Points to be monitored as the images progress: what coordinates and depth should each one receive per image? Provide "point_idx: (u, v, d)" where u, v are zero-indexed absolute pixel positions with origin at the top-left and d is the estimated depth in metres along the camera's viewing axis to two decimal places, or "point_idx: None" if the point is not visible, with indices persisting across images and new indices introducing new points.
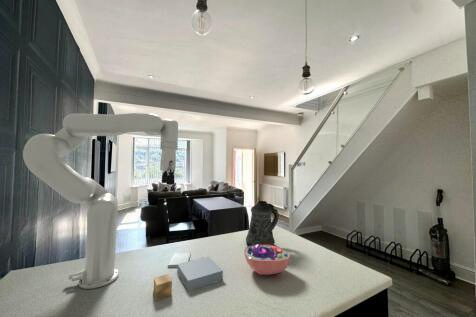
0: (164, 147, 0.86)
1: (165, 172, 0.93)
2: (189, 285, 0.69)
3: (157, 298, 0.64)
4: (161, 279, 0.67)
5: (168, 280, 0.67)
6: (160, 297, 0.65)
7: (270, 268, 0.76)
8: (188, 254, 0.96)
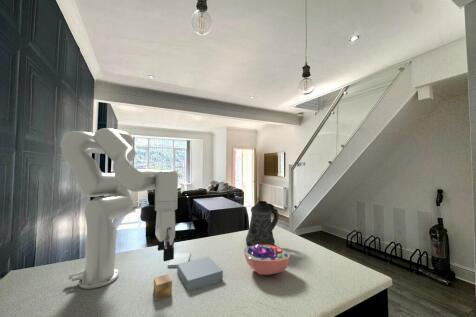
0: (160, 209, 0.65)
1: None
2: (189, 285, 0.69)
3: (157, 298, 0.64)
4: (161, 279, 0.67)
5: (168, 280, 0.67)
6: (160, 297, 0.65)
7: (270, 268, 0.76)
8: (188, 254, 0.96)
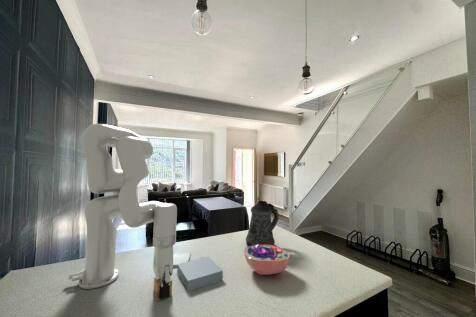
0: (158, 245, 0.64)
1: None
2: (189, 285, 0.69)
3: (157, 298, 0.64)
4: None
5: None
6: None
7: (270, 268, 0.76)
8: (188, 254, 0.96)
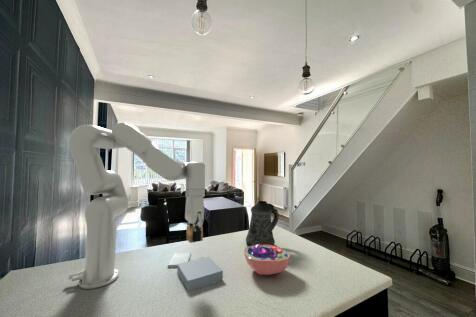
0: (191, 195, 0.74)
1: (192, 223, 0.80)
2: (189, 285, 0.69)
3: (191, 241, 0.74)
4: (193, 226, 0.77)
5: None
6: None
7: (270, 268, 0.76)
8: (188, 254, 0.96)
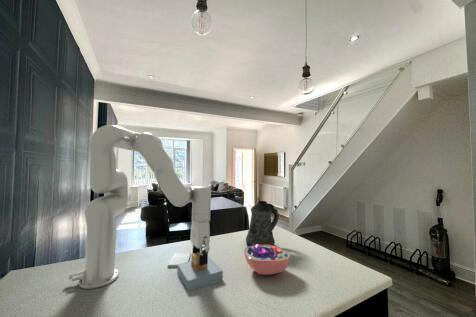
0: (197, 220, 0.76)
1: None
2: (189, 285, 0.69)
3: (196, 269, 0.76)
4: (198, 254, 0.79)
5: None
6: (198, 269, 0.76)
7: (270, 268, 0.76)
8: (188, 254, 0.96)
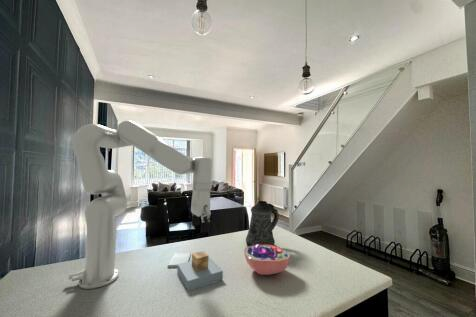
0: (198, 189, 0.77)
1: None
2: (189, 285, 0.69)
3: (197, 269, 0.76)
4: (199, 254, 0.79)
5: (205, 255, 0.78)
6: (199, 269, 0.76)
7: (270, 268, 0.76)
8: (188, 254, 0.96)
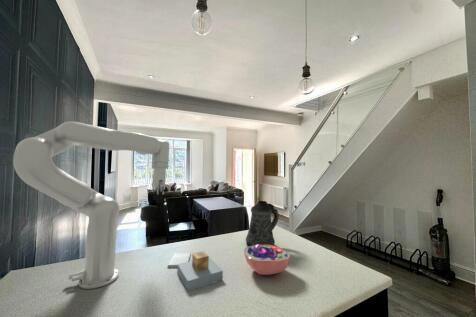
0: (154, 167, 0.91)
1: (157, 189, 0.98)
2: (189, 285, 0.69)
3: (197, 270, 0.76)
4: (199, 254, 0.79)
5: (205, 255, 0.78)
6: (199, 269, 0.76)
7: (270, 268, 0.76)
8: (188, 254, 0.96)
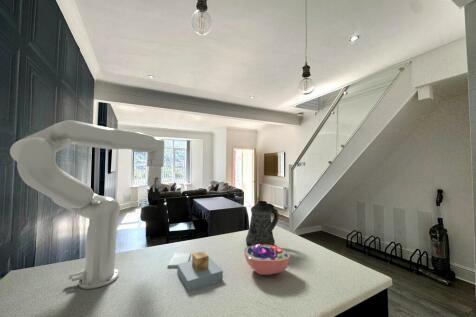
0: (150, 165, 0.93)
1: (152, 187, 1.00)
2: (189, 285, 0.69)
3: (197, 270, 0.75)
4: (199, 255, 0.79)
5: (205, 255, 0.78)
6: (199, 269, 0.76)
7: (270, 268, 0.76)
8: (188, 254, 0.95)
